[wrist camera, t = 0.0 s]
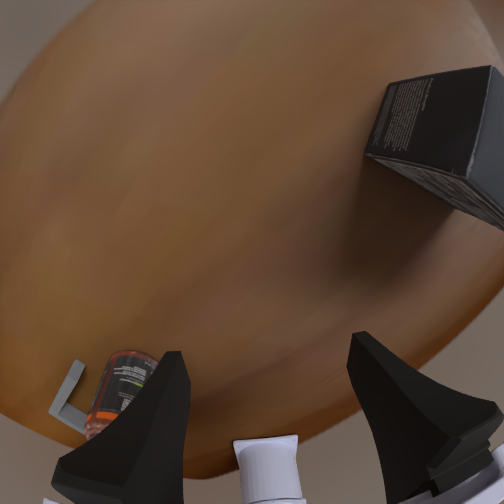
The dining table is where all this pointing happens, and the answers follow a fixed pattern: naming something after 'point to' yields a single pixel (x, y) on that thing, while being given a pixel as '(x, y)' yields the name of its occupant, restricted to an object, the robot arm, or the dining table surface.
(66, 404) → the grey u-shaped bracket
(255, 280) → the dining table surface
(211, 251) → the dining table surface
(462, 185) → the small box
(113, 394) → the supplement bottle
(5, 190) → the dining table surface
